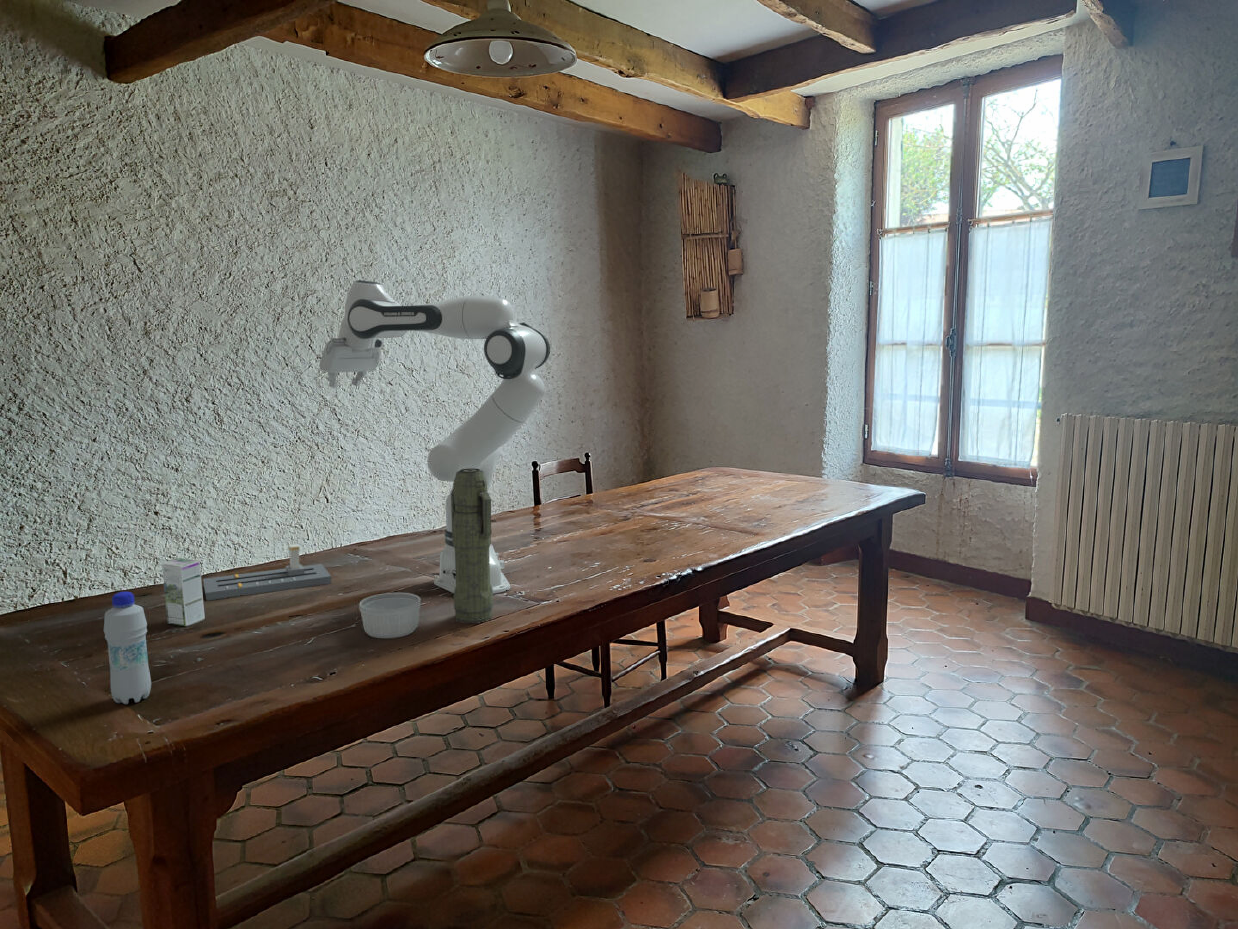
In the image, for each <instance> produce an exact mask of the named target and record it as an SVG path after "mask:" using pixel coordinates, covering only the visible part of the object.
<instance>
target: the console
mask: <svg viewBox="0 0 1238 929" xmlns="http://www.w3.org/2000/svg"><path fill="white" fill-rule="evenodd" d="M302 566H303V565H302ZM303 567H304V571H305V574H301V575H293V576H288V574H287V572H286V567H285V568H278V569H271V570H262V571H255V572H246V573H240V574H238V573H236V574H232V575H231V574H230V575H223V576H222V575H221V576H215V577H206V578H202V582H203V583H202V585H203V586H202V587H203V590H204V594H205V595H206V596H205V595H204V596H205V599H206V601H213V600H221V598H222V599H228V598H227V597H229V598H236V597H241V596H240V595H244V596H251V595H257V594H258V595H259V594H265V593H271V592H278V591H279V592H280V591H287V590H292V589H293V590H294V589H300V588H308V587H315V586H322V585H331V584H332V575H331V574H330V573H329V571H328V570H327V569H326V568H325V566H324V565H323V563H318V564H311V565H310V564H309V565H304V566H303ZM235 596H236V597H235Z"/></svg>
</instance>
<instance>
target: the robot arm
mask: <svg viewBox="0 0 1238 929" xmlns="http://www.w3.org/2000/svg"><path fill="white" fill-rule="evenodd" d="M409 331H411V332H413V331H414V332H423V333H430V334H434V335H440V336H443V337H449V338H453V339H461V340H485V341H484V343H483V344H484V345H483V353H484V357H485V358H486V359H485V360H486V361H487V362H488V364H489V365H490V367H492V369H493V370H494V373H495V374H496V376H497V377H498V378H500V379H502V382H501V383H499V386H498V387H496V389H495V390H494V391H493V392H492V394H490V395H489V397H488V398H487V399H486V401H484V403H483V404H482V405H481V406H480V407H479V409H477V411H476V412H474V414H472V415H471V417H469V418H467V420H466V421H464V422H463V423H462V424H461V425H460V426H459V427H457V428H456V429H455V430H454V431H453V432H451V433H450V434H449V435H448V436H447V437H446V438H444V440H442V441H441V442H440V443H438V444H437V445H435V446H434V447H433V448H431V450H430V451H429V453H428V456H427V467H428V470H429V473H431V475H432V476H433V477H434V478H435V479H436V480H438V481H442V482H448V483H449V482H450V483H451V482H452V484H453V483H454V479H455V476H456V473H457V472H458V471H460V470H461V469H469V468H474V469H480V470H481V471H483V472H484V475H485V478H486V481H487V493H489V494H490V489H491V484H492V478H493V474H494V471H495V468H496V466H497V465H498V463H499V461H500V459H501V449H500V448H501V447H502V446H504V445H505V444H507V443H508V442H509V441H510V439H511V438H512V437H513V436H515V434H516V433H517V432H518V431H519V429H521V428H522V426H523V425H524V424H525V423H526V422H527V421H528V420H529V418H530V417H531V416H532V414H533V413H534V412H535V411H536V409H537V407H538V406H539V405H540V403H541V401H542V399H543V398H544V395H545V392H546V386H545V383H544V381H543V380H542V378H541V377H540V375H538V373H537V371H536V370H537V369H539V368H540V367H542V366H543V365H544V364H545V363H547V361H548V359H549V358H550V354H551V346H550V341H549V340H548V338H547V337H546V335H545V334H543V333H542V332H540V331H539V330H537V329H536V328H533V327H532V326H531V325H528V324H527V323H526V322H520V323H518V322H517V319H516V314H515V310H514V307H513V305H512V303H510V302H509V301H508V300H507V299H505V298H501V297H498V296H497V297H495V296H488V295H464V296H458V297H457V296H456V297H452V298H447V299H446V298H445V299H443V300H437V301H432V302H427V303H422V304H414V305H404V304H401V303H399V302H397V301H396V300H394V298H392V297H391V296H390V295H389V294H388V293H387V291H386V290H385V288H384V286H383V284H381V283H380V282H376V281H370V280H360V279H359V280H358V279H357V280H355V281H353V283H352V284H351V285H350V288H349V289H348V293H347V296H346V300H345V304H344V316H343V319H341V323H340V326H339V332H338V335H337V338H336V337H333V338H331V339H330V340H329V341H327V343H326V345H325V347H324V349H323V351H322V354H321V357H320V359H319V360H320V361H319V365H318V366H319V369H320V370H321V371H323V372H327V375H328V379H329V382H328V386H329V387H331V388H337V387H338V385H339V381H338V380H337V377H338V375H339V373H357V374H356V376H355V377H354V378H352V381H351V382H352V383H351V384H352V386H355V387H360V386H361V384H362V381H363V379H365V378H364V377H366V375H367V372H374V371H376V369H377V368H378V366H379V363H380V358H381V354H382V348H383V346H384V340H383V339H393V338H394V339H396V338H400V337H403V336H404V335H405V334H406V333H407V332H409ZM453 489H454V488H453V485H452V486H451V490H450V492H449V493H448V495H447V498H446V499H445V529H444V543H445V545H444V548H443V549H442V551H441V552H440V553H439V577H438V578H436V579H434V581H433V584H434V585H435V586H437V587H439V588H441V589H444V590H446V591H447V592H450V593H452V594H454V590H455V587H456V572H455V549H454V547H453V543H452V510H451V493H452V491H453ZM489 556H490V584H491V586H492V589H493V595H495V594H499V593H503V592H507V591H509V590H511V584H510V582H509V581H508V579H507V578H506V576H505V575H504V573H503V572H502V569H503V570H504V569H505V561H504V559H499V552H496V551H495V549H494V546H493V545H492V544H491V545H490V547H489ZM506 590H507V591H506Z"/></svg>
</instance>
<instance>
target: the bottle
mask: <svg viewBox="0 0 1238 929" xmlns="http://www.w3.org/2000/svg"><path fill="white" fill-rule="evenodd" d="M111 602H112V608H110V609H108V610H106V611H105V613H104V625H103V632H104V639H105V640H106V641H107V651H108V661H109V668H110V669H109V670H110V673H109V674H110V679H109V680H110V681H109V683H110V693H111V698H112V699H113V701H114V702H115V703H116V704H121V703H122V704H123V705H128V704H129V703H130V699H133V701H134V703H139V702H140V701H141V700H142V699H143V700H146V699H147V698H148V697H149V696H150V693H151V688H152V679H151V673H150V668H149V667H150V666H149V659H148V658H149V657H148V648H147V637H146V635H147V632H148V629H147V626H148V622H147V619H146V615H145V612H144V611H145V610H144V607H143V606H140V605H138V604H136V603H135V595H134V593H132V592H131V591H120V592H116V593H115V594H113V596H112V598H111Z"/></svg>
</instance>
